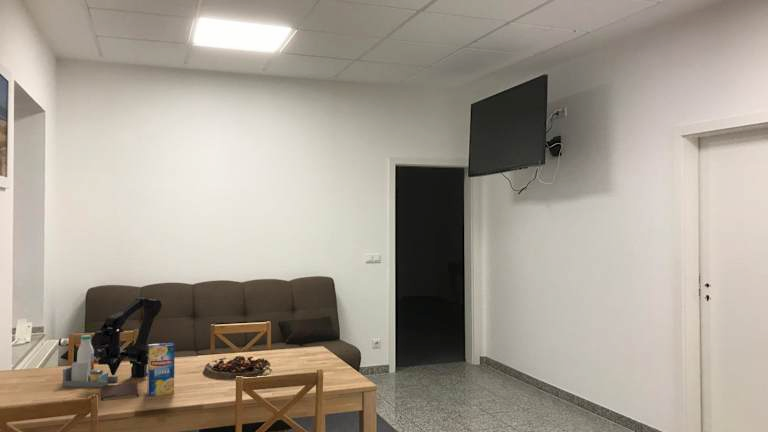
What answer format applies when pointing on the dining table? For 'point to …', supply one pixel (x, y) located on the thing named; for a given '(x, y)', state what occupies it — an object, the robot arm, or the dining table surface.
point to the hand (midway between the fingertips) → (113, 375)
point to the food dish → (235, 368)
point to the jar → (95, 374)
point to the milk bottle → (86, 353)
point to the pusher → (103, 377)
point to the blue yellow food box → (160, 369)
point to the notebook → (119, 391)
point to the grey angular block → (79, 372)
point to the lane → (69, 383)
